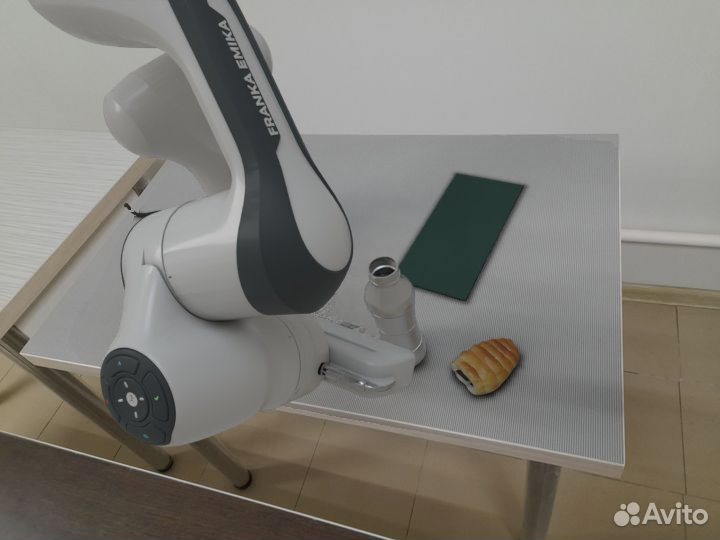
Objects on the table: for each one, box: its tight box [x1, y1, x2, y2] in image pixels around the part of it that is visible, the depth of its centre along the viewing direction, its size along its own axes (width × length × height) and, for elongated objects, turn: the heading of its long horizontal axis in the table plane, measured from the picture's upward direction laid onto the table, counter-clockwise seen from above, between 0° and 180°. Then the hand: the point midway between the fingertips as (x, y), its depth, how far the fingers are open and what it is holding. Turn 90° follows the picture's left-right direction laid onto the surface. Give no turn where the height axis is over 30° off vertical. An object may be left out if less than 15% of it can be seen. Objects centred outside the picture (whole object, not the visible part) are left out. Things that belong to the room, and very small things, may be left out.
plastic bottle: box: [363, 255, 427, 366], centre depth 70 cm, size 6×7×20 cm
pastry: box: [450, 337, 520, 396], centre depth 72 cm, size 9×7×4 cm
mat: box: [398, 173, 524, 302], centre depth 91 cm, size 28×13×1 cm, turn 151°
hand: (353, 331), depth 60 cm, fingers closed
